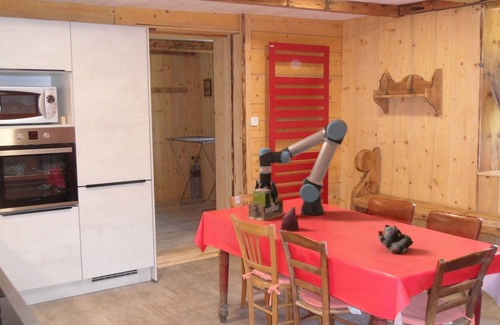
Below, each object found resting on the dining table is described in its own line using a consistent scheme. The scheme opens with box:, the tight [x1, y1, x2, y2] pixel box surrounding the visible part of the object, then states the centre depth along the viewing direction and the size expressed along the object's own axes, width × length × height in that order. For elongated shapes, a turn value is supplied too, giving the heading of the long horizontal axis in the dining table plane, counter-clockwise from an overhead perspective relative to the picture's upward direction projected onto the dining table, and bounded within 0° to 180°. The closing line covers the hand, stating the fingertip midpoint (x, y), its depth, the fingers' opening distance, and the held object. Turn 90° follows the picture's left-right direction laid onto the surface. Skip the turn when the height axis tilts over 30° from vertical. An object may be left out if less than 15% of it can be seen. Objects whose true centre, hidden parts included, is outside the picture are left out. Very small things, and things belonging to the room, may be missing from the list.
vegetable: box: [280, 206, 300, 232], centre depth 315 cm, size 10×10×15 cm
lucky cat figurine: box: [378, 224, 414, 255], centre depth 267 cm, size 15×12×14 cm
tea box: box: [252, 187, 279, 214], centre depth 349 cm, size 15×10×15 cm, turn 144°
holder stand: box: [248, 199, 284, 222], centre depth 349 cm, size 12×23×10 cm, turn 143°
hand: (266, 207), depth 349 cm, fingers closed on tea box, 10 cm apart
